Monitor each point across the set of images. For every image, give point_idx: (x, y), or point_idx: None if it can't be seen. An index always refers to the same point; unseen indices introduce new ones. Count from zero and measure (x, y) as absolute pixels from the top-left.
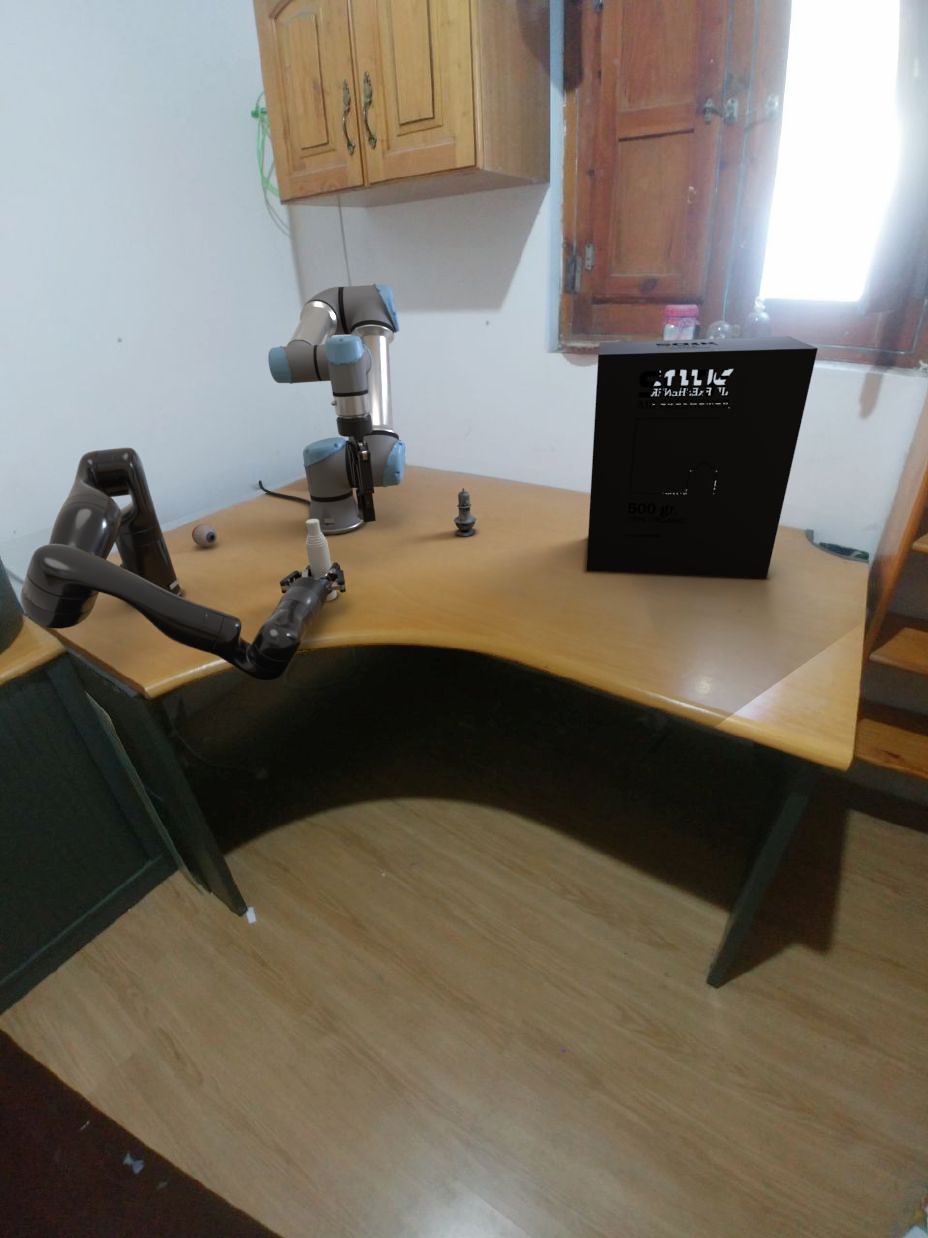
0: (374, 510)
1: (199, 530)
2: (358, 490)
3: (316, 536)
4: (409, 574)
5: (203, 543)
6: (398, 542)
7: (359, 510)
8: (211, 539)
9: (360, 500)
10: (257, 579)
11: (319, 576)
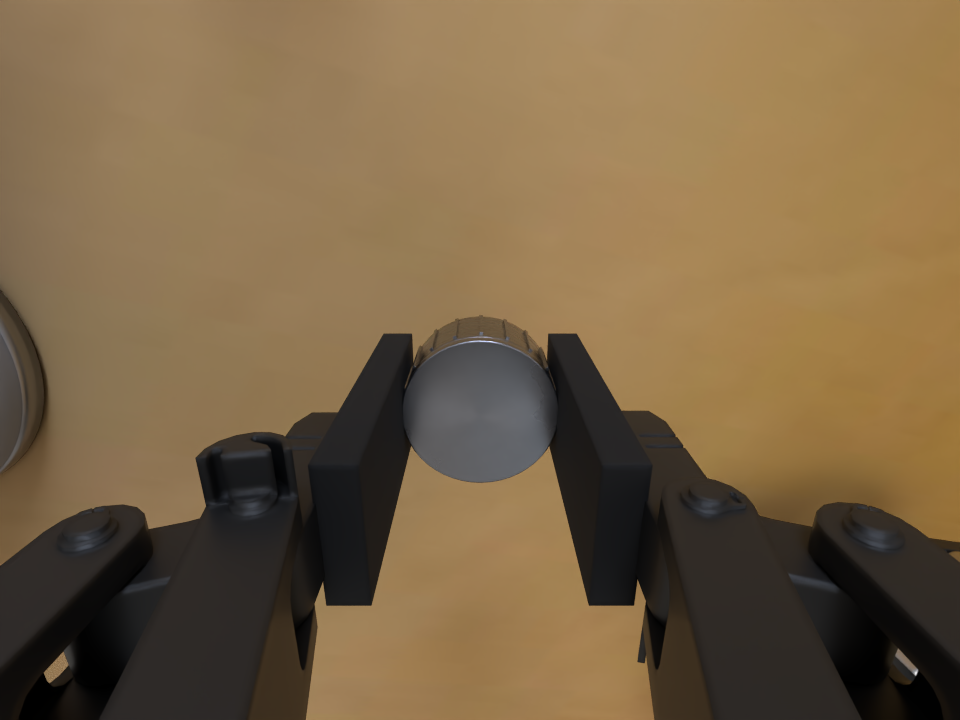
0: (510, 340)
1: None
2: (373, 575)
3: None
4: (737, 162)
5: None
6: (275, 80)
7: (478, 474)
8: None
9: (392, 483)
10: (432, 696)
11: (915, 667)
